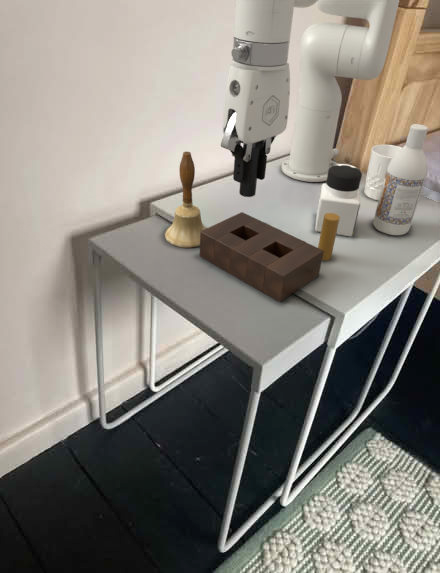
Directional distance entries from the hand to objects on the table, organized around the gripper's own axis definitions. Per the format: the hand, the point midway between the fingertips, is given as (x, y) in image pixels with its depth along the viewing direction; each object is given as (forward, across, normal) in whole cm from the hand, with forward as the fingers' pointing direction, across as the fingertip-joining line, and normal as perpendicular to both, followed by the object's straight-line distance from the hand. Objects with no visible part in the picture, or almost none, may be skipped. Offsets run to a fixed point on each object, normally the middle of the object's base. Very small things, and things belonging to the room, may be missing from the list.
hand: (248, 178), depth 78 cm
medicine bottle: (+15, +22, -5) cm, 27 cm away
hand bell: (+15, -2, +12) cm, 19 cm away
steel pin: (+3, 0, 0) cm, 3 cm away
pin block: (+15, 0, -4) cm, 15 cm away
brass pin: (+14, +11, -10) cm, 21 cm away
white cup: (+14, +42, -4) cm, 44 cm away
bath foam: (+15, +30, -13) cm, 36 cm away
